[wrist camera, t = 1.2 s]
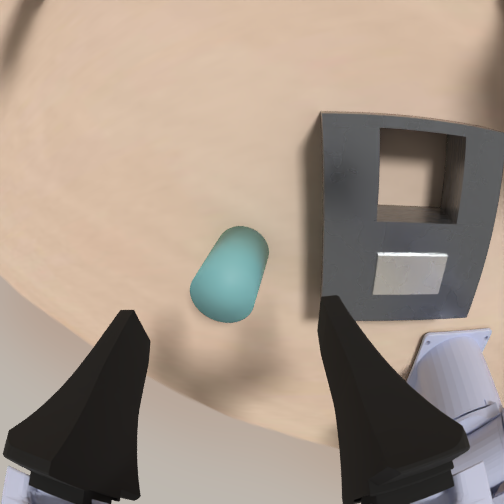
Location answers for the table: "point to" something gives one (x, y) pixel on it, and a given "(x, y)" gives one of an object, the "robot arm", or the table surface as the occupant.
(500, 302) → the table surface
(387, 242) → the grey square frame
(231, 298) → the barrel peg
